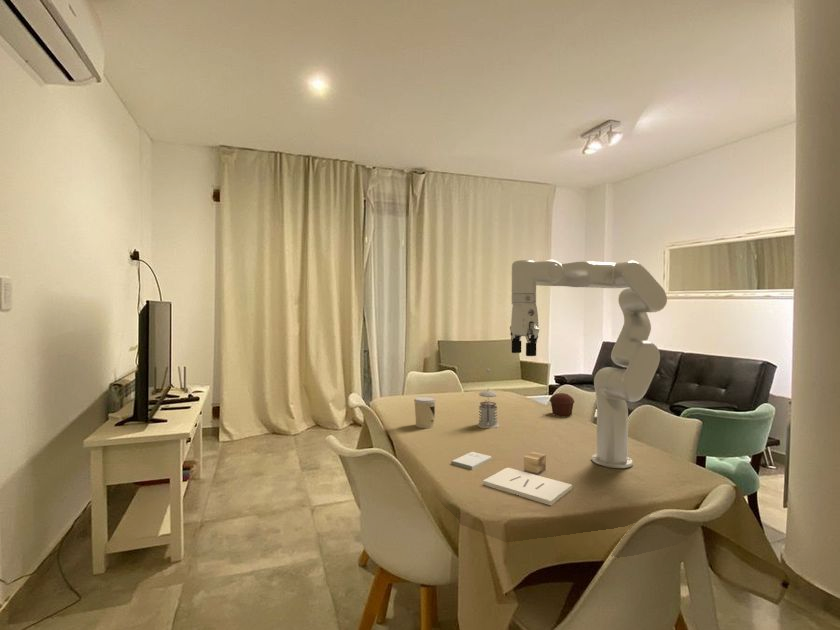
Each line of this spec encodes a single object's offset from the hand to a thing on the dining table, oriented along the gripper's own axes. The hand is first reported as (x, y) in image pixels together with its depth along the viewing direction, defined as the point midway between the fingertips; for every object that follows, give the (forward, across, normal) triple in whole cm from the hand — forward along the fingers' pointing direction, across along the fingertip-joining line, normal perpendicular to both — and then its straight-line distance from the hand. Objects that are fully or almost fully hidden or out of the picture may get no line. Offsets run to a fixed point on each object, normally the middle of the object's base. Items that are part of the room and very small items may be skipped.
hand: (523, 354), depth 139 cm
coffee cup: (+37, +60, +16) cm, 73 cm away
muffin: (+37, +64, -53) cm, 91 cm away
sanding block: (+37, 0, -4) cm, 37 cm away
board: (+37, -11, +4) cm, 39 cm away
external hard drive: (+38, +13, +12) cm, 42 cm away
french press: (+37, +53, -10) cm, 66 cm away
